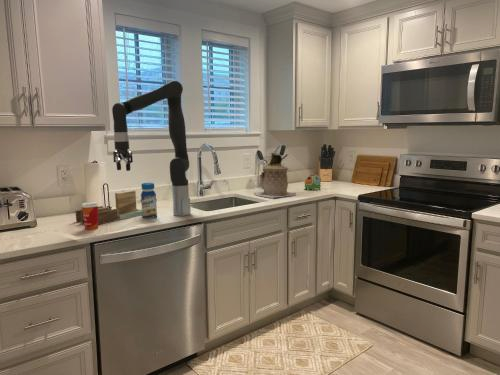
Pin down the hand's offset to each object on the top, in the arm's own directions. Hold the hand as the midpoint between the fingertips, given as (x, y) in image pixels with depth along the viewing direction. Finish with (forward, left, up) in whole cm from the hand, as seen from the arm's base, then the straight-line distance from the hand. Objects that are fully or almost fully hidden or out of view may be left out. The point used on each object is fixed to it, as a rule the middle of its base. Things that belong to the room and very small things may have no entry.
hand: (123, 170), depth 207 cm
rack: (+2, +17, -27) cm, 32 cm away
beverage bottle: (-12, -6, -27) cm, 30 cm away
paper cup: (-10, +27, -27) cm, 40 cm away
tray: (0, 0, -27) cm, 27 cm away
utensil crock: (-27, -108, -27) cm, 115 cm away
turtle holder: (-38, -148, -27) cm, 155 cm away
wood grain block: (0, 0, -26) cm, 26 cm away
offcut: (+1, +17, -25) cm, 31 cm away
